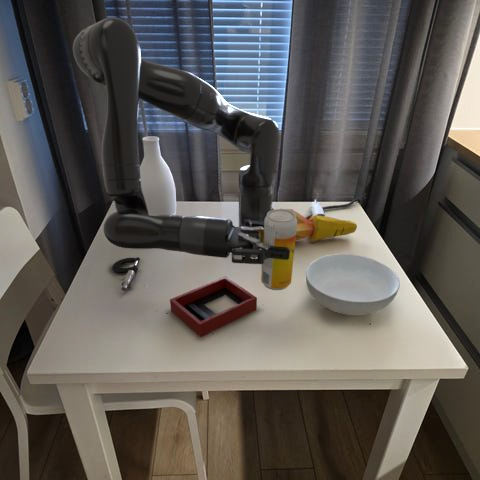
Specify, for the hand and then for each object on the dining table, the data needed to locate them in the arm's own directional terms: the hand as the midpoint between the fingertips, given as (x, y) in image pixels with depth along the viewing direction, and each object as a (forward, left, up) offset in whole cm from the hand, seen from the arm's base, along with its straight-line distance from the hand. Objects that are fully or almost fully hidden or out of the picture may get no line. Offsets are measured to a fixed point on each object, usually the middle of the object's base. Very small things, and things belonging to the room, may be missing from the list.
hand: (291, 245), depth 86 cm
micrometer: (+31, -32, -20) cm, 49 cm away
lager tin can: (+2, -1, -9) cm, 10 cm away
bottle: (+16, -58, -20) cm, 63 cm away
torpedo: (-32, -47, -20) cm, 60 cm away
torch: (-24, -34, -20) cm, 46 cm away
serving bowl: (-18, -4, -20) cm, 27 cm away
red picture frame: (+13, -10, -20) cm, 26 cm away
